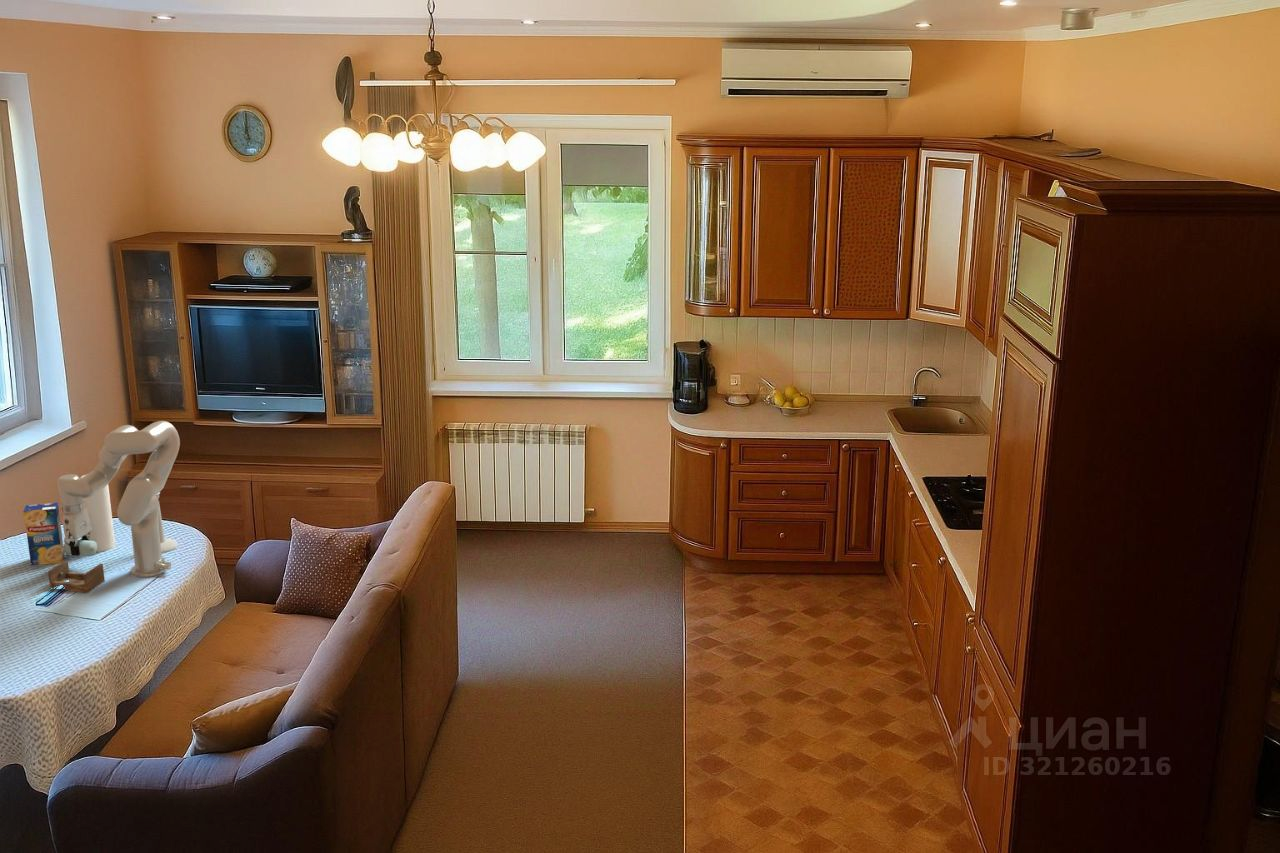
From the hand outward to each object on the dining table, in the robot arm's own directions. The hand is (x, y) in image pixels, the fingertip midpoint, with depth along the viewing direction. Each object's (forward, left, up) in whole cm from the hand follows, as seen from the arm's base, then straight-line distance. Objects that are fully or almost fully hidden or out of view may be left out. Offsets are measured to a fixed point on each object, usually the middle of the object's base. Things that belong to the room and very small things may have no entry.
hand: (81, 551), depth 422 cm
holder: (-8, +15, -6) cm, 18 cm away
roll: (0, 0, -1) cm, 1 cm away
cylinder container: (+4, -18, -6) cm, 20 cm away
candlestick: (-18, -23, -6) cm, 30 cm away
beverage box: (+16, -2, -6) cm, 18 cm away
